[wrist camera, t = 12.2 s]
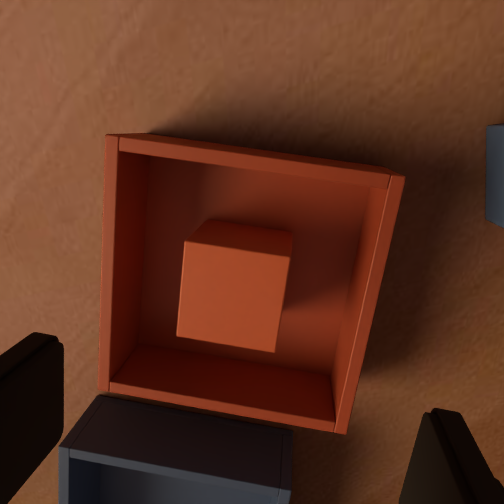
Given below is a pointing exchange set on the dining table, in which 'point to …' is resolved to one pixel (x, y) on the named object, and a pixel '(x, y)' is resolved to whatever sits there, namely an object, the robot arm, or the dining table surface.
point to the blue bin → (171, 458)
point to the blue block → (495, 174)
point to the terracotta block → (234, 284)
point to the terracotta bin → (298, 284)
